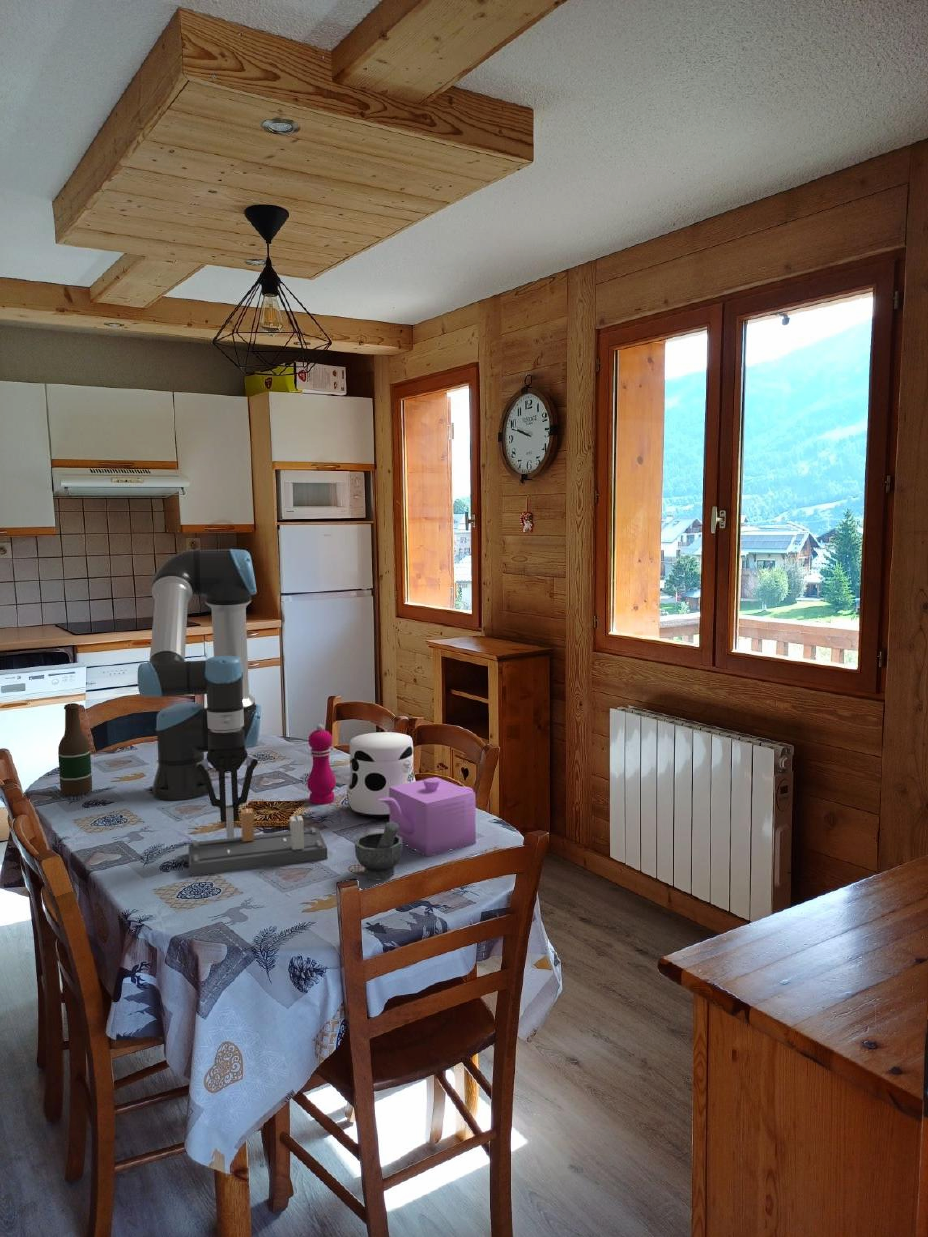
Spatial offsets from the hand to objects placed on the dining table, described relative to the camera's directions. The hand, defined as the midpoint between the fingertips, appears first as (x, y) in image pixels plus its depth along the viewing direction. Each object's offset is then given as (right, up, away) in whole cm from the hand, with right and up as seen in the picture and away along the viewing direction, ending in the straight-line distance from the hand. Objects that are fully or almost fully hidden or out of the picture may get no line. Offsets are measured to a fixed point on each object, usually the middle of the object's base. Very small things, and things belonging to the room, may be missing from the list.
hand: (230, 835), depth 192 cm
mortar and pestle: (+34, -5, -12) cm, 36 cm away
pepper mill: (+14, 0, +36) cm, 38 cm away
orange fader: (+4, -1, +1) cm, 4 cm away
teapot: (+43, -3, +6) cm, 43 cm away
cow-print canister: (+30, -1, +27) cm, 41 cm away
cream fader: (+15, -1, -4) cm, 16 cm away
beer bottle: (-53, 0, +45) cm, 69 cm away
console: (+6, -4, -2) cm, 8 cm away
